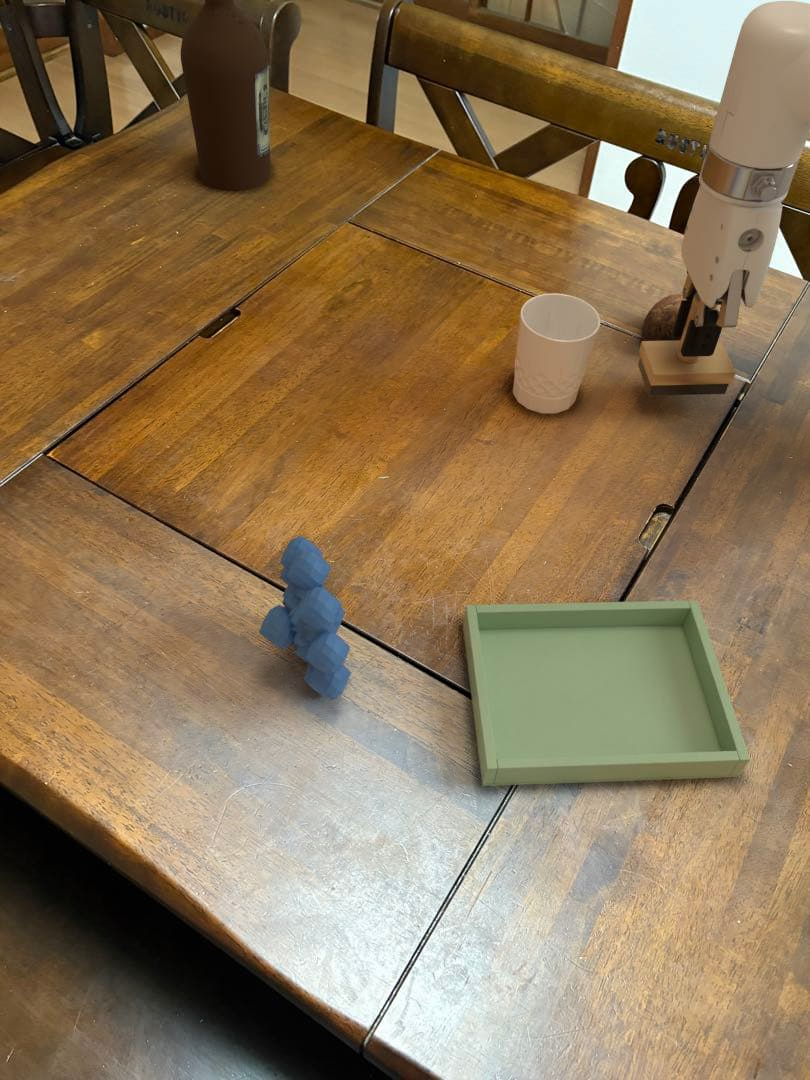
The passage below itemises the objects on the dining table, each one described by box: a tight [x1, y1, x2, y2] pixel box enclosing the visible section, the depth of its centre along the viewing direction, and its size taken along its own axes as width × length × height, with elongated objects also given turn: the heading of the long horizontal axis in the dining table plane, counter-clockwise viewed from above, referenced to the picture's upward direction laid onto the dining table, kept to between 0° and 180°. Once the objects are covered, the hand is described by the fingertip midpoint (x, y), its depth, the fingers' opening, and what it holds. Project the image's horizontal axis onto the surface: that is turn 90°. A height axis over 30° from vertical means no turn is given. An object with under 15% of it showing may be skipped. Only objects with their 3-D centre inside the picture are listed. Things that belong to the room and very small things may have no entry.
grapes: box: [259, 535, 352, 701], centre depth 70 cm, size 12×7×12 cm, turn 18°
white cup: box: [512, 292, 601, 414], centre depth 94 cm, size 8×8×10 cm
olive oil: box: [180, 0, 272, 192], centre depth 114 cm, size 11×11×25 cm
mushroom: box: [641, 293, 687, 341], centre depth 103 cm, size 8×8×6 cm
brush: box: [637, 292, 737, 397], centre depth 91 cm, size 8×5×10 cm, turn 93°
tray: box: [462, 599, 751, 787], centre depth 72 cm, size 20×15×3 cm
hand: (692, 343), depth 92 cm, fingers closed on brush, 2 cm apart
